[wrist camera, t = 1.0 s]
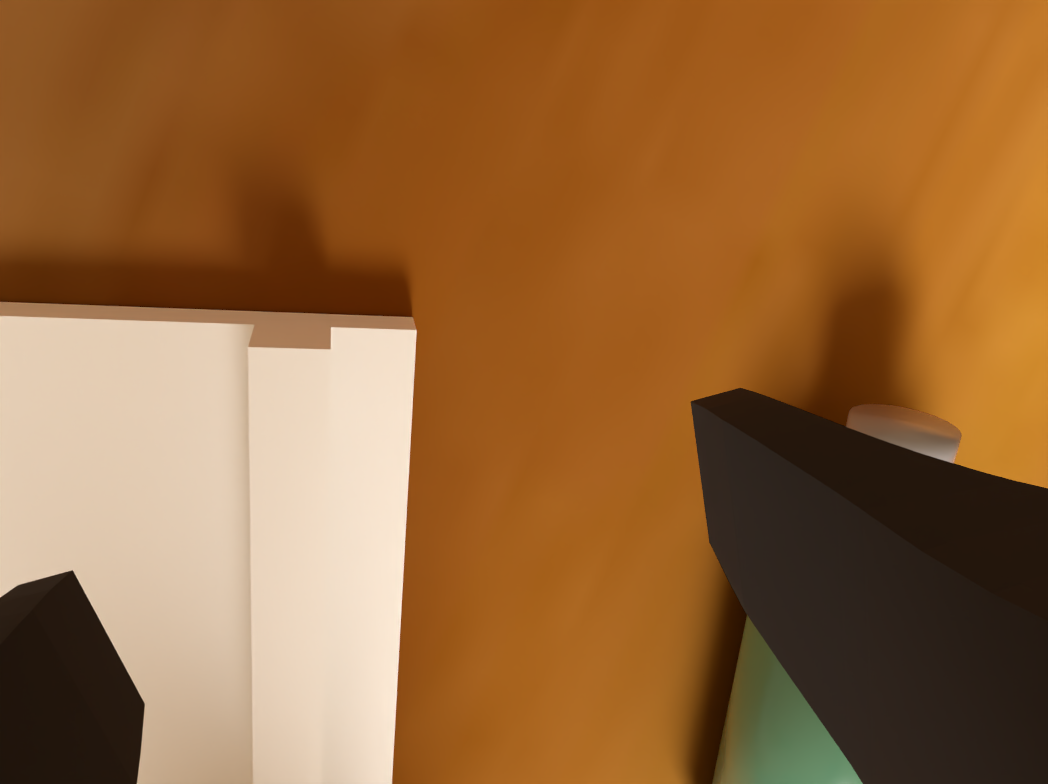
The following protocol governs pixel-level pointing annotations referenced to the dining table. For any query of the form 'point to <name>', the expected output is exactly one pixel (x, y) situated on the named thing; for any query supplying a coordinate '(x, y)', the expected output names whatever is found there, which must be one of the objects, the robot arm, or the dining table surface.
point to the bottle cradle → (221, 522)
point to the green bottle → (763, 684)
